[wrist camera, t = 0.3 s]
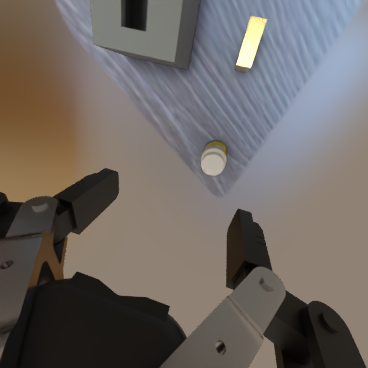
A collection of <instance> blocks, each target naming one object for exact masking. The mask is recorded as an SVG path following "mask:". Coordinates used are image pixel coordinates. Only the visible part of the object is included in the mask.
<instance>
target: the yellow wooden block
mask: <svg viewBox="0 0 368 368" xmlns="http://www.w3.org/2000/svg"><path fill="white" fill-rule="evenodd" d="M266 21H267V19H263V18H258V17H253V16H251V17H250V21H249V24H248V27H247V31H246V34H245V37H244V41H243V44H242V48H241V51H240V54H239V58H238V61H237V64H236V68H235V70H238V71H243V72H247V71H248V70H249V69H250V68H251V65H252V62H253V59H254V56H255V53H256V50H257V47H258V44H259V41H260V39H261V36H262V33H263V30H264V27H265V24H266Z"/></svg>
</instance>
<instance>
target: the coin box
mask: <svg viewBox="0 0 368 368" xmlns="http://www.w3.org/2000/svg"><path fill="white" fill-rule="evenodd" d="M90 4H91V18H92V32H93V44H94V45H97V46H99V47H102V48H105V49H108V50H111V51H114V52H117V53H119V54H122V55H125V56H128V57H133V58H137V59H142V60H146V61H151V62H155V63H159V64H164V65H168V66H173V67H177V68H181V69H186V70H188V68H189V63H190V57H191V51H192V45H193V40H194V34H195V28H196V22H197V17H198V11H199V5H200V0H90Z"/></svg>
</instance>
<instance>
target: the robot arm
mask: <svg viewBox="0 0 368 368" xmlns="http://www.w3.org/2000/svg"><path fill="white" fill-rule="evenodd" d="M118 178H119V177H118V172H116V171H113V170H110V169H107V168H105V169H103V170H101V171H100V172H98V173H94V174H91V175H88V176H86V177H84V178H83V179H81V180H80V181H78V182H76V183H75V184H73V185H71V186H70V187H68V188H66V189H65V190H63V191H62V192H60V193H58V194H57V195H55V196H53V197H50V196H40V197H35V198H32V199H30V200H27V201H26V202H24V203H23V202H9V201H8V199H7V196H6V195H5V194H4V193H1V192H0V368H248V367H249V366H250V364H251V362H252V361H253V359H254V357H255V355H256V354H257V352H258V350H259V349H260V346H261V345H262V342H263V337H262V336H263V335H264V336H265V337H266V338H268V339H269V340H271V342H273V343H274V348H275V355H276V363H277V368H366V366H365V364H364V361H363V359H362V357H361V355H360V353H359V350H358V348H357V346H356V344H355V342H354V339H353V338H352V335H351V333H350V331H349V329H348V327H347V325H346V324H345V322H344V321H343V320H342V318H341V317H340V316H339V315H338V314H337V313H336V312H335V311H334V310H333V309H332V308H330V307H329V306H327V305H326V304H324V303H322V302H319V301H312V302H311V303H309V304H306V303H304V302H303V301H301V300H300V299H298V298H297V297H295V296H293V295H292V294H290V293H289V292H288V291H286V290H285V287H284V285H283V283H282V281H281V279H280V278H279V277H278V276H277V275H276V274H275V273H274V272H273V271H272V268H271V263H270V259H269V255H268V251H267V246H266V242H265V240H264V234H263V230H262V229H261V227H260V226H259V224H258V223H255V222H253V219H252V214H251V213H250V212H248V211H245V210H241V209H238V210H237V211H236V213H235V215H234V217H233V219H232V221H231V223H230V226H229V228H228V232H227V269H226V272H227V273H226V277H227V278H226V287H228V288H231V289H233V292H232V293H231V294H230V295H229V296H227V297H226V298H225V299H224V300H223V301H222V302H221V303H220V304H219V305H218V306H217V307H216V308H215V309H214V310H213V311H212V313H210V314H209V316H208V317H207V318H206V319H205V320H204V321H203V322H202V323H201V324H200V325H199V326H198V327H197V328H196V329H195V331H193V332H192V333H191V335H190V336H189V337H188V338H187V337H186V335H185V333H184V331H183V330H182V328H181V327H180V325H179V324H178V323H177V322H176V321H175V320H174V318H173V317H171V316H170V315H169V314H168V311H169V307H170V306H168V305H165V304H163V303H160V302H157V301H154V300H152V299H149V298H147V297H132V296H119V295H117V294H116V293H114V292H113V291H112V290H111V289H109V288H108V287H107V286H106V285H105V284H103V283H102V282H101V281H100V280H98V279H96V278H93V277H91V276H88V275H85V274H82V273H80V272H76V274H75V275H74V276H73V277H72V278H69V279H64V275H63V266H64V260H65V253H66V245H67V240H68V238H67V235H68V234H69V233H70V232H73V233H76V234H80V233H81V232H82V231H83V230H84V229H85V228H86V227H87V226H88V225H89V224H90V223H91V222H92V221H93V220H95V218H97V217H98V216H99V215H100V214H101V213H102V212H103V211H104V210H105V209H106V208H107V207H108V206H109V205H110V204H111V203H112V202H113V201H114V200H115V199H116V198H117V195H118V193H119V179H118Z"/></svg>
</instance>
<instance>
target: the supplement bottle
mask: <svg viewBox="0 0 368 368" xmlns="http://www.w3.org/2000/svg"><path fill="white" fill-rule="evenodd" d="M226 162H227V149H226V146H225V144H224V143H222V142H221V141H218V140H214V141H211V142H209V143H208V144H207V145H206V147H205V149H204V152H203V154H202V157H201V166H202V169H203V171H204V172H205V173H206V174H208V175H211V176H215V175H218V174H220V173H221V172H222V171H223V169H224V167H225V165H226Z"/></svg>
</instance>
